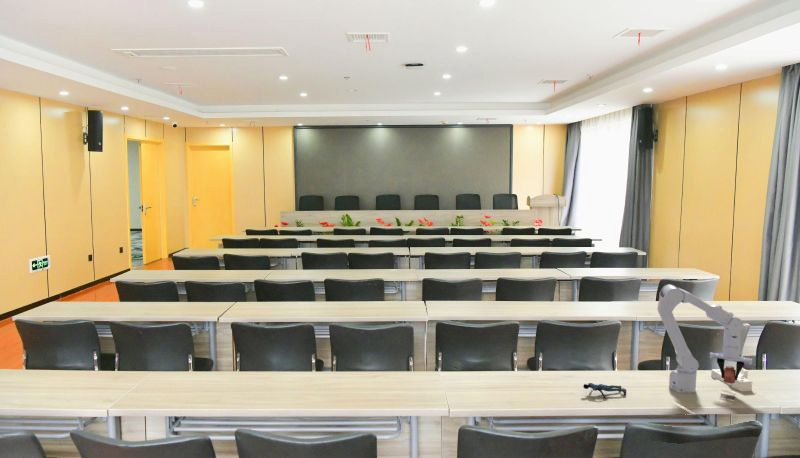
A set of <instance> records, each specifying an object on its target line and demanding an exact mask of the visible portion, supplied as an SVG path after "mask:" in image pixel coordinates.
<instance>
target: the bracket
mask: <svg viewBox="0 0 800 458" xmlns="http://www.w3.org/2000/svg"><path fill="white" fill-rule="evenodd" d="M710 371H711V372H710V377H711V376H712V377H713V378H712V377H711V378H712V379H714V378H715V379H714V380H716V379H717V380H716V381H722V382H724V378H722V375H721V371H720V368H718V369H713V368H712V369H711V370H710ZM748 371H749V370H747V369H745V368H742V369H741V371H740V373H739V375H738V377H744V378H746V379H748V376H749V375H748V374H749V373H748ZM735 376H736V375H735ZM724 383H726V384H727V385H729V386H731V387H732V383H727V382H724Z"/></svg>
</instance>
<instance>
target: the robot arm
mask: <svg viewBox="0 0 800 458" xmlns="http://www.w3.org/2000/svg"><path fill="white" fill-rule="evenodd" d="M658 294H659V298H658V303H657V311H658V314H659V317H660V320H661V322H662V323H663V325H664V328H665V330H666V332H667V335H668V337H669V339H670V341H671V344H672V346H673V347H674V352H675V360H676V362H677V366H676V369H674V370H672V371H671V372H670V373H669V382H668V388H669V389H671V390H673V391H674V392H677V393H679V394H682V393H683V394H684V393H695V392H696V386H697V371H698V370H699V367H700V364H699V361H698V360H697V359H696V358H695V357H694V356H693V354H692V352H691V351H690V350H691V349H689V347H688V345H687V342H686V340H685V338H684V336H683V334H682V331H681V329H680V328H679V325H678V322H677V320H676V318H675V316H674V313H673V312H674V309H676V307H677V306H679V304H681V303H683V304H687V303H689V304H691V305H693V306H694V307H697V308H698V309H700V310H701V311H704V312H705V315H706V317H708V318H709V319H711V320H712V321H714V322H716V323H718V324H719V325H721V326H723V327H724V331H723V342H722V343H723V344H722V353H719V352H709V359H716V363H717V365H718V367H719V368H718V369H720V371H721V375H722V378H724V368H725V361H729V362H736V365H735V366H736V367H735V368H736V369H735V370H736V376H735V380H737V378H738V375H739V373H740V371H741V369H744V368H743V367H744V366H745V364H748V365H750V366H751V365H752V364H753V358H750V357H745V356H740V349H741V348H740V347H741V331H743V330H744V328H745V325H744V323H743V321H742V319H740V318H739V317H737V316H735V314H734V313H733V312H732V311H730V312H729V311H728V310H725V309H723V306H722V305H720V304H718V305H717V304H708V303H707V302H705V301H703V300H702V299H700V298H699V297H697V296H696V295H694V294H692V293H691V292H689V291H687V290H685V289H684V288H680V287H677V286H675V285H674V284H666V285H664V286H663V287H662V288H661V290H660V292H659V293H658Z"/></svg>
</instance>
